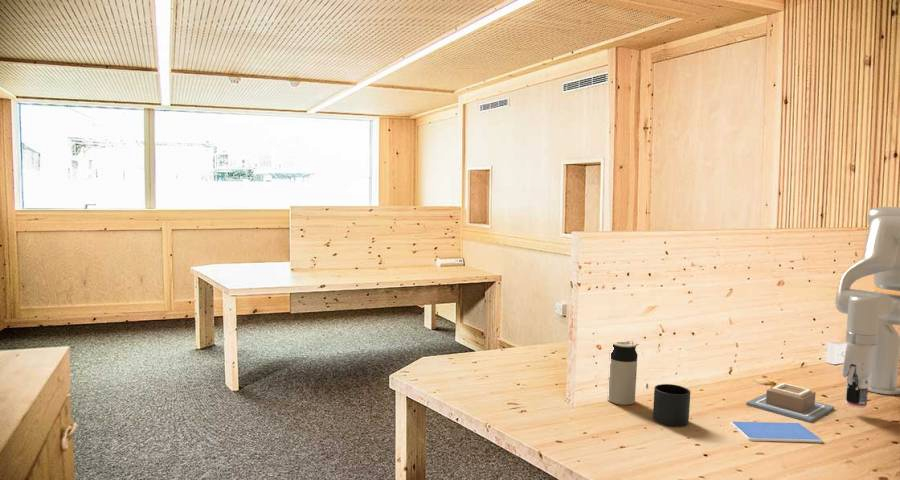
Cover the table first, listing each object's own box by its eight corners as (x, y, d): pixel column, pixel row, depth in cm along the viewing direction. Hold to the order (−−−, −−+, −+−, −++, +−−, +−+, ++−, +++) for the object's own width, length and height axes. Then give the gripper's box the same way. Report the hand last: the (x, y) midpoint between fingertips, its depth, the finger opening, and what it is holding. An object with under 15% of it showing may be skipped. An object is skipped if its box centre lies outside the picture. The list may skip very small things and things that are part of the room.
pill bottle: (869, 408, 187) (872, 378, 186) (849, 407, 188) (851, 377, 187) (862, 402, 192) (864, 372, 191) (842, 400, 193) (844, 371, 192)
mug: (678, 412, 189) (680, 381, 188) (693, 427, 177) (695, 395, 176) (645, 411, 189) (647, 380, 188) (658, 427, 177) (660, 394, 176)
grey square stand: (772, 393, 209) (773, 375, 208) (834, 409, 195) (835, 390, 195) (746, 404, 197) (747, 386, 196) (810, 422, 183) (812, 403, 183)
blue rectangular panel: (748, 442, 169) (748, 438, 169) (728, 424, 182) (729, 420, 181) (824, 445, 169) (824, 440, 169) (799, 426, 181) (799, 422, 181)
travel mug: (605, 403, 195) (608, 343, 193) (609, 395, 202) (612, 338, 201) (633, 407, 192) (636, 347, 190) (636, 399, 199) (639, 341, 198)
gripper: (856, 331, 196) (852, 389, 198) (835, 341, 185) (831, 403, 187) (885, 336, 190) (880, 396, 192) (865, 346, 179) (860, 410, 181)
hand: (856, 399), depth 190 cm, fingers closed on pill bottle, 5 cm apart
